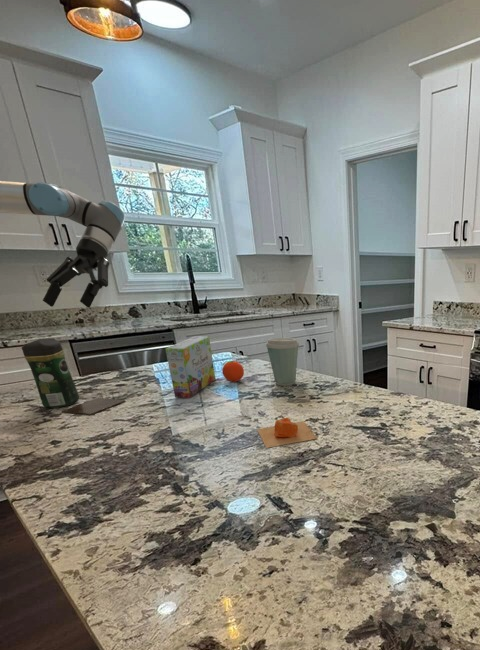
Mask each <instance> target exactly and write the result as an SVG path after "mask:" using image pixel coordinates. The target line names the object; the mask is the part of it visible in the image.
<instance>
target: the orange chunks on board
mask: <svg viewBox="0 0 480 650" xmlns="http://www.w3.org/2000/svg"><path fill="white" fill-rule="evenodd" d="M274 422H275V424H274V425H273V426H267V427H260V428H257V429H256V430H257V432H258V434H259V436H260V439H261V440H262V442H263V444H264V447H265V449H268V448H269V449H270V448H274V447H279V446H284V445H290V444H296V443H299V442H300V443H301V442H306V441H310V440H315V439H318V437H317V435H316V434H315V433H314V432H313V431H312V430H311V428H310V427H309V425H308V424H307V423H306V421H304V420H302V421H296V422H292V421H291V419H290V417H283V418H282V419H276V421H274Z"/></svg>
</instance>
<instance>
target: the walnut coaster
mask: <svg viewBox="0 0 480 650" xmlns="http://www.w3.org/2000/svg"><path fill="white" fill-rule="evenodd" d="M125 402H126V399H116V398H115V399H114V398H105V397H97V398H93V399H90V400H89V401H86V402H83V403H79V404H78V405H75V406H72V407H68V408H66V409H63V410H61V413H66V414H75V415H85V416H93V415H95V414H98V413H100V412H104V411H105V410H107V409H110V408H113V407H116V406H118V405H121V404H123V403H125Z"/></svg>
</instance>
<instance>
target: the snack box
mask: <svg viewBox="0 0 480 650" xmlns="http://www.w3.org/2000/svg"><path fill="white" fill-rule="evenodd" d="M211 347H212V346H211V341H210V336H209V335H208V336H206V335H200V336H198V335H195V336H191V337H189V338H187V339H185V340H182V341H180V342H178V343H176V344H172V345H171V346H168V347H166V348H165V354H166V359H167V364H168V369H169V374H170V379H171V383H172V384H171V385H172V389H173V395H174V398H185V399H186V398H189V399H190V398H193V397H194V396H195V395H197V394H198V393H199V392H200V391H202V390H203V389H204V388H206V387H207V386H209V385H210V384H212V383H213V382H214V381H215V380H216V379H217V378H216V373H215V367H214V361H213V353H212V348H211Z"/></svg>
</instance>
